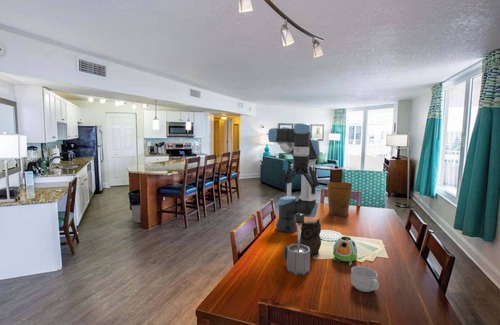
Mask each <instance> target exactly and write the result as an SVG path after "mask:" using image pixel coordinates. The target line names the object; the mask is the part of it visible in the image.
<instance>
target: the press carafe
mask: <svg viewBox="0 0 500 325" xmlns="http://www.w3.org/2000/svg"><path fill="white" fill-rule="evenodd" d="M294 247H298V243H291V244H289V245H284V246H283V260H285V261H286V270H287V272H289V273H290V274H293V275H294V276H295V275H297V276H305V275H308V274H309V273H310V272H311V269H310V268H311V257H310V248H309V247H308V246H306V245H303V244H300V247H301V248H304V249H305V250H306V252H294V251H292V250H291V249H292V248H294Z"/></svg>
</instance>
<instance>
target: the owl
mask: <svg viewBox="0 0 500 325" xmlns="http://www.w3.org/2000/svg"><path fill="white" fill-rule="evenodd" d="M321 231H322V226H321V223H320V218H316V219H311V220H307V221H304V223H302V224H301V233H300V244H303V245H306V246H308V247H309V248H310V258H312V257H315V256H318V255H319V251H320V249H321V245H322V240H321V239H322V237H321V235H320V234H321Z"/></svg>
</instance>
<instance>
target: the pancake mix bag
mask: <svg viewBox="0 0 500 325" xmlns="http://www.w3.org/2000/svg"><path fill="white" fill-rule="evenodd" d="M326 185H327V201H328V203H327V205H328V214H329V215H332V216H333V215H334V216H340V217H349V216H350V215H349V208H350V200H351V195H352V190H353V189H352V187H353V183H350V182H335V181H334V182H333V181H330V182H327V184H326Z"/></svg>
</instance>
